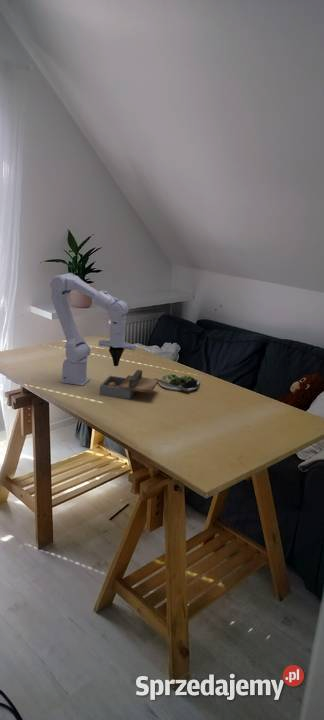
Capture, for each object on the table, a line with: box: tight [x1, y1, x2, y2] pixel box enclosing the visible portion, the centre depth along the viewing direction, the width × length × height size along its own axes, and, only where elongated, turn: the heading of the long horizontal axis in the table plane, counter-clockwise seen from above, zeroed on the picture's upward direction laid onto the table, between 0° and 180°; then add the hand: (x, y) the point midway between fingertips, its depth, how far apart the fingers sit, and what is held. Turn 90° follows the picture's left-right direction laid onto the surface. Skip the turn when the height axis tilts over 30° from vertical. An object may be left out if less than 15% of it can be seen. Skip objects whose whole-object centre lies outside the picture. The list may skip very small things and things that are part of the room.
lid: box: [119, 369, 159, 394], centre depth 200 cm, size 13×13×4 cm
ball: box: [108, 382, 116, 387], centre depth 203 cm, size 3×3×3 cm
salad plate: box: [153, 374, 201, 393], centre depth 215 cm, size 19×18×5 cm
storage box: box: [99, 375, 136, 400], centre depth 203 cm, size 12×12×4 cm
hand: (116, 365), depth 201 cm, fingers closed
